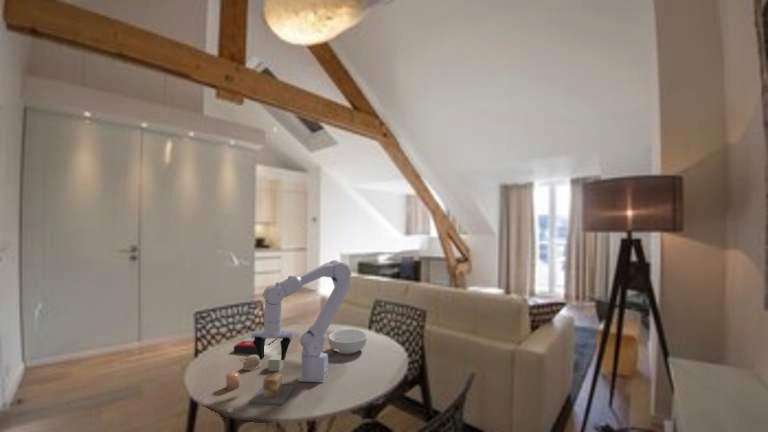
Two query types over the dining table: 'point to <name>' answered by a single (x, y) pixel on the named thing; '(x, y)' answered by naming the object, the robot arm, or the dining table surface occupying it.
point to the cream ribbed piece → (250, 362)
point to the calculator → (250, 346)
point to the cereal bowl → (348, 341)
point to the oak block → (272, 385)
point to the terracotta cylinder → (232, 381)
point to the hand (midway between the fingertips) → (272, 358)
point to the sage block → (275, 363)
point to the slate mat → (277, 400)
